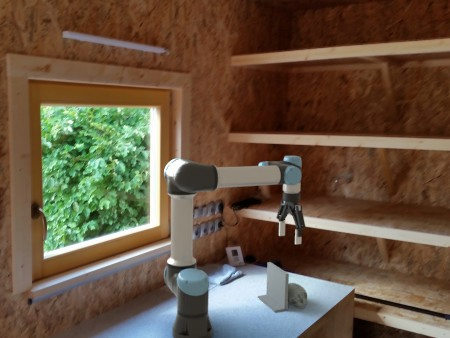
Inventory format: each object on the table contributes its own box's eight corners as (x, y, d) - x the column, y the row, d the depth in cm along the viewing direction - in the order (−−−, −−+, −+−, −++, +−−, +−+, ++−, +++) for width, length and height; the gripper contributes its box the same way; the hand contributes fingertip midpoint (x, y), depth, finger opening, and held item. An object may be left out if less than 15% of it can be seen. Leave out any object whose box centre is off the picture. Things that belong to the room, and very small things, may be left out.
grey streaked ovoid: (314, 302, 197) (303, 281, 197) (295, 313, 195) (284, 292, 196) (305, 297, 210) (295, 277, 211) (287, 307, 209) (277, 288, 209)
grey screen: (275, 312, 194) (276, 275, 192) (257, 297, 209) (258, 263, 206) (287, 310, 196) (288, 273, 194) (269, 295, 211) (270, 262, 209)
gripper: (315, 196, 190) (313, 246, 192) (284, 186, 212) (282, 231, 215) (299, 197, 187) (297, 248, 189) (269, 187, 209) (268, 233, 212)
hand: (289, 239), depth 202 cm, fingers open, 13 cm apart
